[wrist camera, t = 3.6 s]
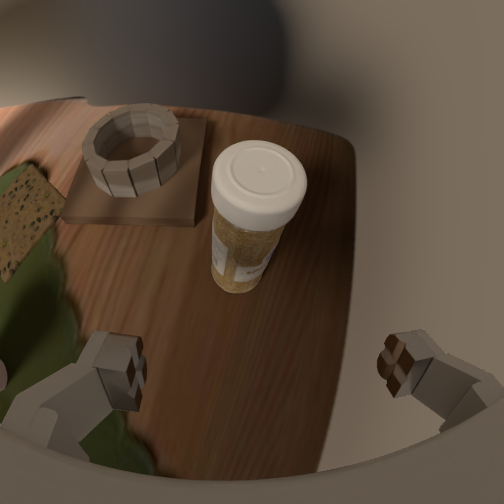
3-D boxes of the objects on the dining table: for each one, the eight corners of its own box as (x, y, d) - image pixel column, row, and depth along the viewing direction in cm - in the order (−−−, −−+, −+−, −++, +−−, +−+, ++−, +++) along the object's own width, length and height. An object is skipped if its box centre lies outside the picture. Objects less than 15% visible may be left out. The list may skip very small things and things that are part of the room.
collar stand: (66, 223, 24) (43, 194, 19) (101, 129, 29) (92, 98, 24) (194, 227, 26) (191, 193, 21) (206, 127, 31) (207, 92, 26)
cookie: (74, 205, 25) (71, 200, 24) (8, 287, 20) (3, 284, 20) (34, 163, 27) (31, 159, 26) (-22, 229, 22) (-26, 226, 21)
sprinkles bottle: (256, 300, 24) (303, 223, 12) (204, 286, 24) (198, 196, 11) (266, 252, 26) (313, 150, 13) (218, 240, 26) (227, 127, 13)
